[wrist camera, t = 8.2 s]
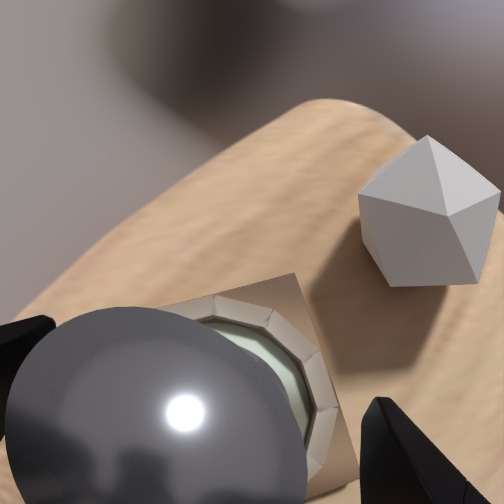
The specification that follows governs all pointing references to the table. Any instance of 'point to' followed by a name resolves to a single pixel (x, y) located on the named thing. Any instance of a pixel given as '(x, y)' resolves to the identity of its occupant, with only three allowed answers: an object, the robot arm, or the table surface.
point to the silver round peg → (150, 417)
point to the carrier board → (286, 367)
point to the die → (428, 217)
